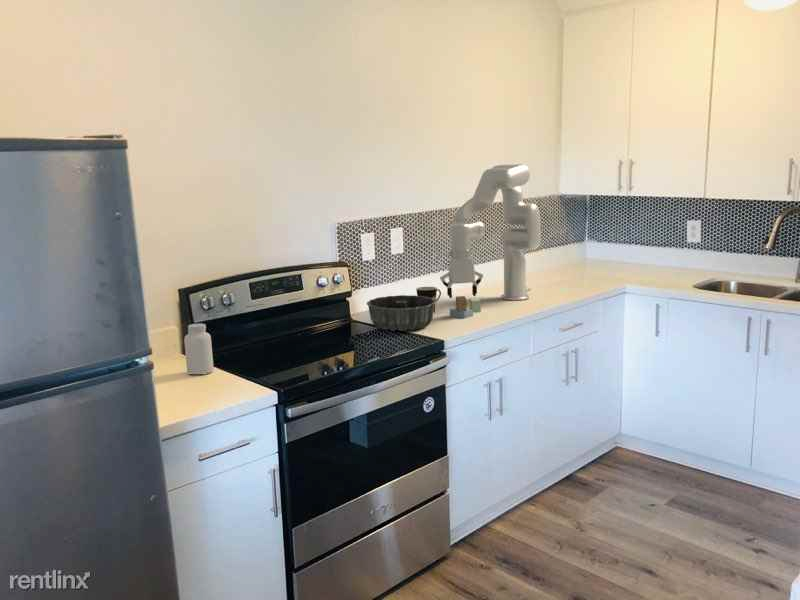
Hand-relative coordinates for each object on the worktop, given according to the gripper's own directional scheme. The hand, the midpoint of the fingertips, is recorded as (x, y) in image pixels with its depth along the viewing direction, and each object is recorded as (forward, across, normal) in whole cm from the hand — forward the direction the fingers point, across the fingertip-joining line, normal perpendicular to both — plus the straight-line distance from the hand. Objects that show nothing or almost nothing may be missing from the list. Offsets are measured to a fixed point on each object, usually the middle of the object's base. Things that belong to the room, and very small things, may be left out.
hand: (462, 296), depth 294 cm
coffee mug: (+8, -12, +11) cm, 18 cm away
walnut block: (+5, -1, -1) cm, 5 cm away
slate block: (+8, -1, -1) cm, 8 cm away
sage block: (+8, +6, +8) cm, 13 cm away
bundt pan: (+7, -26, -14) cm, 30 cm away
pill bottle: (+5, -93, -63) cm, 113 cm away
